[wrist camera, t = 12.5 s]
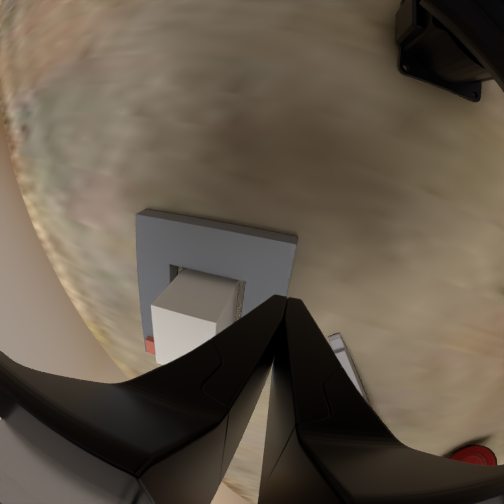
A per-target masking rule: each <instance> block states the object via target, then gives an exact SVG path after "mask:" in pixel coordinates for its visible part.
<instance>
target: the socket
mask: <svg viewBox="0 0 504 504" xmlns="http://www.w3.org/2000/svg"><path fill="white" fill-rule="evenodd" d="M297 240H298V237H295V236H290V235H285V234H280V233H275V232H270V231H265V230H260V229H254V228H249V227H244V226H239V225H233V224H228V223H222V222H217V221H212V220H206V219H200V218H195V217H189V216H183V215H178V214H172V213H166V212H160V211H154V210H149V209H145V210H143V211H141V212H139V213H137V214H136V249H137V269H138V284H139V296H140V307H141V317H142V326H143V334H144V342H145V349H146V352H149V353H152V354H155V355H156V353H155V344H154V335H153V325H152V314H151V304H152V303H153V302H154V301H155V300H156V298H157V297H158V296H159V295H160V294H161V293H162V292H163V291H164V290H165V289H166V287H167V286H168V285H169V284H170V283H171V282H172V281H173V280H174V279H175V278H176V276H177V269H178V266H180V267H184V268H188V269H193V270H197V271H201V272H206V273H210V274H214V275H219V276H223V277H228V278H232V279H237V280H241V281H246V284H245V292H244V299H243V306H242V314H241V317H243V316H244V315H246V314H247V313H249V312H250V311H251V310H253V309H254V308H256V307H257V306H258V305H260V304H261V303H263V302H264V301H265V300H267V299H268V298H270V297H271V296H272V295H274V294H277V295H282V296H286V294H287V289H288V284H289V280H290V275H291V270H292V265H293V261H294V256H295V251H296V246H297ZM265 383H266V382H265ZM264 386H265V385H264Z"/></svg>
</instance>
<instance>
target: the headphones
mask: <svg viewBox="0 0 504 504" xmlns="http://www.w3.org/2000/svg"><path fill="white" fill-rule="evenodd" d="M448 459H452V460H457V461H461V462H466V463H471V464H477V465H486V466H497V458H496V456H495V454H494V453H493V452H492V451H491V450H490V449H489V448H487V447H485V446H481V445H473V446H468V447H465V448H462V449H460V450H459V451H457V452H455V453H454V454H453V455H451V456H450V457H449V458H448Z"/></svg>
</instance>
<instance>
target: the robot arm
mask: <svg viewBox="0 0 504 504" xmlns="http://www.w3.org/2000/svg"><path fill="white" fill-rule="evenodd" d="M395 42H396V44H397V45H398V46H400V48H399V62H398V69H399V71H400V72H401V73H402V74H404V75H406V76H409V77H412V78H415V79H418V80H421V81H424V82H426V83H429V84H432V85H434V86H437V87H439V88H442V89H444V90H447V91H449V92H452V93H454V94H456V95H459V96H461V97H463V98H465V99H467V100H470V101H472V102H478V101H480V98H481V82H484V81H488V80H492V79H494V80H495V81H496V82H497V84H498V85H499V86H500V88H501V89H502V90H503V92H504V0H402V1H401V8H400V9H399V11H398V12H397V14H396V36H395ZM403 65H406V66H407V67H408V69H409V70H408V71H406V70H405V69H404V68H403ZM473 93H474V94H475V98H474V97H473ZM273 360H274V361H273ZM272 363H273V367H272ZM271 367H272V376H271V387H270V398H269V408H268V419H267V428H266V438H265V447H264V456H263V465H262V473H261V481H260V489H259V497H258V504H504V464H503V465H497V466H486V465H477V464H471V463H466V462H461V461H457V460H452V459H448V458H444V457H440V456H436V455H432V454H429V453H425V452H422V451H418V450H415V449H412V448H410V447H408V446H406V445H404V444H403V443H401V442H400V441H399V440H398V439H397V438H396V437H395V436H394V435H393V434H392V433H391V431H390V430H389V429H388V428H387V426H386V425H385V424H384V423H383V421H382V420H381V419H380V418H379V416H378V415H377V414H376V413H375V411H374V410H373V409H372V408H371V406H370V405H369V404H368V403H367V401H366V400H365V399H364V397H363V396H362V395H361V393H360V392H359V391H358V389H357V388H356V386H355V385H354V383H353V382H352V380H351V379H350V377H349V376H348V374H347V372H346V371H345V369H344V368H343V367H342V365H341V363H340V361H339V360H338V358H337V356H336V355H335V353H334V351H333V350H332V348H331V347H330V345H329V343H328V342H327V340H326V338H325V337H324V335H323V334H322V332H321V330H320V329H319V327H318V325H317V324H316V322H315V321H314V319H313V317H312V316H311V314H310V313H309V311H308V309H307V308H306V306H305V305H304V303H303V301H302V300H301V299H296V298H292V297H289V298H288V299H287V297H286V296H282V295H277V294H274V295H272V296H271V297H270V298H268V299H267V300H265V301H264V302H263V303H261V304H260V305H258V306H257V307H256V308H254V309H253V310H251V311H250V312H249V313H247V314H246V315H244V316H243V317H241V318H240V319H238V320H237V321H236V322H234V323H233V324H231V325H230V326H228V327H227V328H225V329H224V330H222V331H221V332H220V333H218V334H217V335H215V336H214V337H212V338H211V339H209V340H207V341H206V342H204V343H203V344H201V345H200V346H198V347H197V348H195V349H193V350H192V351H190V352H188V353H187V354H185V355H183V356H181V357H179V358H177V359H175V360H173V361H171V362H169V363H167V364H165V365H162V366H160V367H158V368H156V369H154V370H152V371H149V372H147V373H145V374H143V375H141V376H138V377H136V378H134V379H131V380H129V381H125V382H122V383H115V384H114V383H113V384H108V383H100V382H93V381H86V380H80V379H75V378H69V377H64V376H59V375H54V374H49V373H45V372H41V371H37V370H34V369H31V368H28V367H25V366H22V365H20V364H18V363H16V362H15V361H13V360H12V359H10V358H9V357H8V356H6V355H5V354H4V353H3V352H1V351H0V417H1V418H2V419H1V420H0V504H210V503H211V501H212V499H213V497H214V495H215V494H216V491H217V489H218V487H219V485H220V483H221V481H222V479H223V477H224V475H225V473H226V471H227V469H228V467H229V465H230V462H231V460H232V458H233V456H234V454H235V452H236V449H237V447H238V445H239V443H240V441H241V438H242V436H243V434H244V432H245V429H246V427H247V425H248V423H249V420H250V418H251V416H252V413H253V411H254V409H255V406H256V404H257V401H258V399H259V397H260V394H261V392H262V389H263V387H264V385H265V382H266V380H267V377H268V375H269V372H270V369H271Z"/></svg>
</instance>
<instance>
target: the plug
mask: <svg viewBox="0 0 504 504" xmlns="http://www.w3.org/2000/svg"><path fill="white" fill-rule="evenodd" d="M239 281H240V280H237V279H232V278H228V277H223V276H219V275H214V274H210V273H206V272H201V271H197V270H193V269H188V268H184V269H183V270H182V271H181V272H180V273H179V274H178V275H177V276H176V278H175V279H174V280H173V281H172V282H171V283H170V284H169V285H168V286H167V287H166V289H165V290H164V291H163V292H162V293H161V294H160V295H159V296H158V297H157V298H156V300H155V301H154V302H153V303H152V304H151V314H152V325H153V335H154V344H155V353H156V361H157V363H159V364H162V365H165V364H167V363H169V362H171V361H173V360H175V359H177V358H179V357H181V356H183V355H185V354H187V353H188V352H190V351H192V350H193V349H195V348H197V347H198V346H200V345H201V344H203V343H204V342H206V341H207V340H209V339H211V338H212V337H214V336H215V335H217V334H218V333H220V332H221V331H222V330H224V329H225V328H227V327H228V326H230V325H231V324H233V323H234V322H235V315H236V306H237V298H238V290H239Z"/></svg>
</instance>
